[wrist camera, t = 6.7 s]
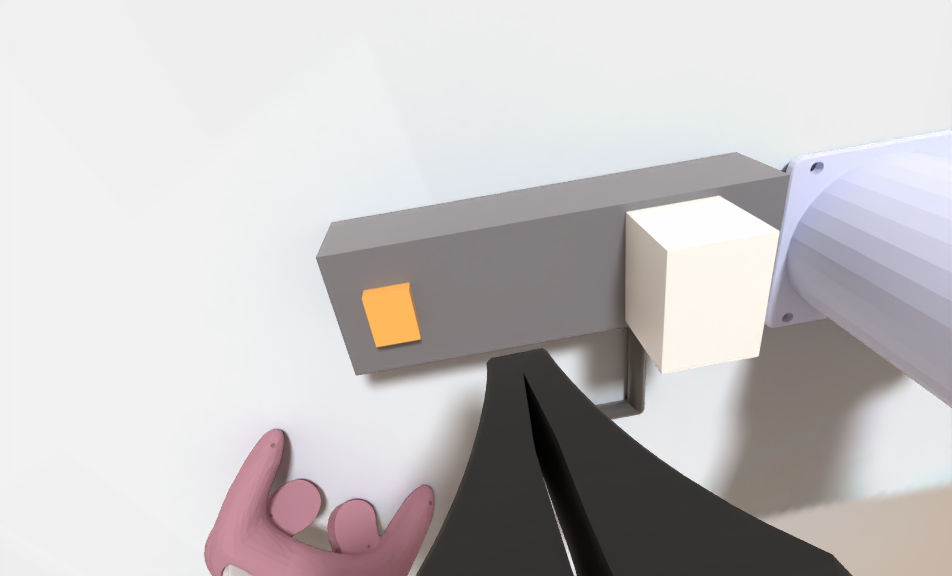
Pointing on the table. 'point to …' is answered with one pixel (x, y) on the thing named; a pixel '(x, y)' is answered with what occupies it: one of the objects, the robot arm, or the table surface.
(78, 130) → the table surface
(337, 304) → the power strip
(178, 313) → the table surface
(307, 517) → the video game controller
